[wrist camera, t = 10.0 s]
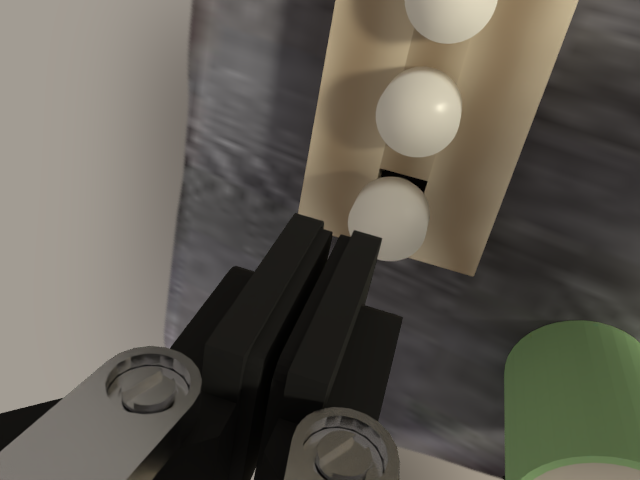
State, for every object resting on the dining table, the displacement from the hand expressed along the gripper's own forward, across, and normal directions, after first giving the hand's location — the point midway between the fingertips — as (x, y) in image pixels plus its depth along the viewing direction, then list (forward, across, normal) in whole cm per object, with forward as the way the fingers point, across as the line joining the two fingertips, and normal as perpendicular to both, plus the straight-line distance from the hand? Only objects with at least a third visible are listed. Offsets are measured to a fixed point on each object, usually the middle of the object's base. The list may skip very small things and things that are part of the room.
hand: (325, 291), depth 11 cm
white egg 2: (+26, 0, +3) cm, 26 cm away
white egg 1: (+27, 0, -3) cm, 27 cm away
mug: (+27, -17, +21) cm, 38 cm away
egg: (+25, 0, +9) cm, 26 cm away
